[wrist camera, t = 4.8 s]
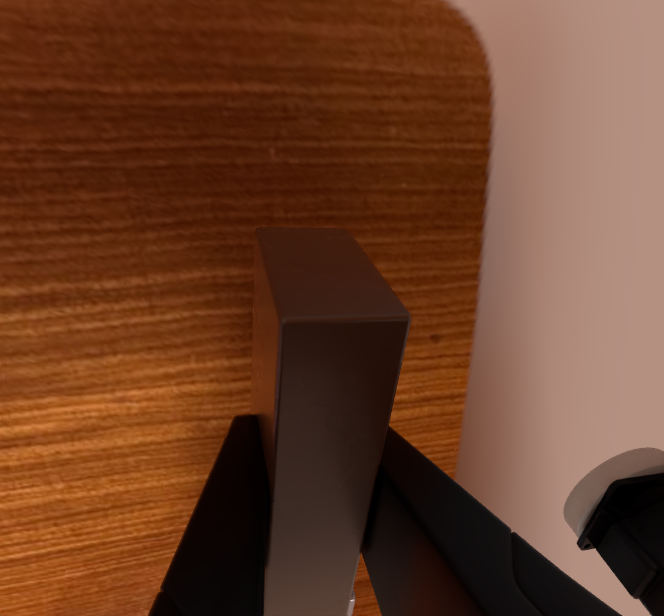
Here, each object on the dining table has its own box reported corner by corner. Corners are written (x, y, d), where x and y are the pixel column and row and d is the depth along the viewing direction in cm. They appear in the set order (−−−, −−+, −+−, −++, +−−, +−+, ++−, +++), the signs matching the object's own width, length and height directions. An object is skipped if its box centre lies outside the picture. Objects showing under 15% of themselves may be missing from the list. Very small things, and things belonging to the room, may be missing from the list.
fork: (412, 228, 8) (504, 312, 6) (328, 654, 15) (353, 774, 13) (176, 223, 7) (162, 323, 5) (204, 682, 14) (205, 817, 12)
